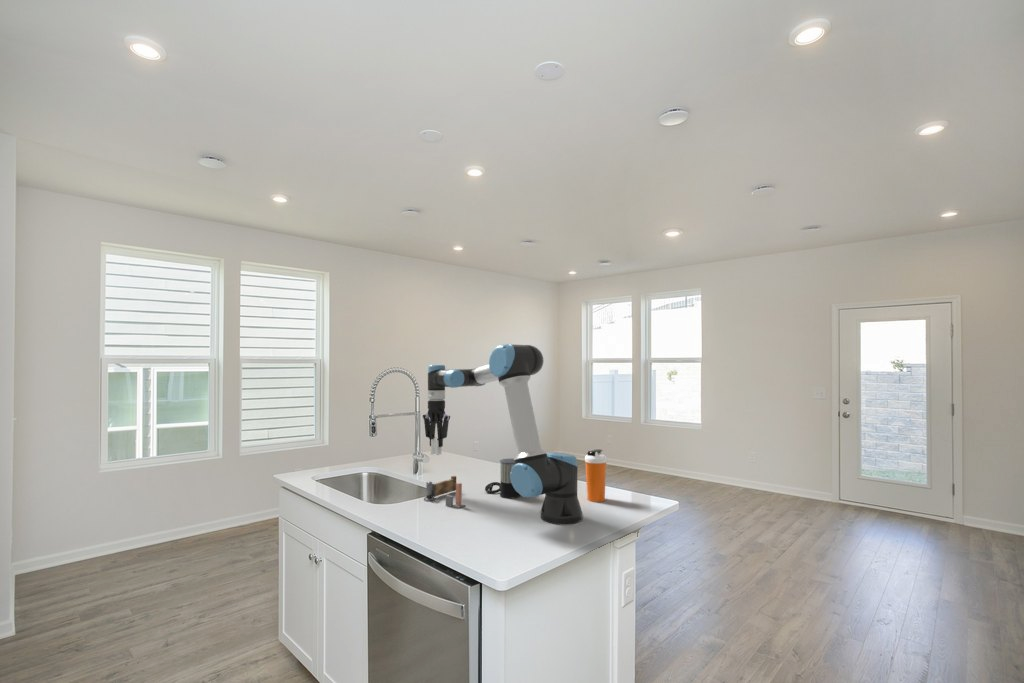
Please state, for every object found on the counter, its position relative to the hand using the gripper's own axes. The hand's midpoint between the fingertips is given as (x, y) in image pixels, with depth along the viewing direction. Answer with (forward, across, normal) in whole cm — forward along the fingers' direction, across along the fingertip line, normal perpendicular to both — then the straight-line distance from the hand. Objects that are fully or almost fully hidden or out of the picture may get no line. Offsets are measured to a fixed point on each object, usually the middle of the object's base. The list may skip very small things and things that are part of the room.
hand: (436, 454), depth 216 cm
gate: (+16, +6, -2) cm, 17 cm away
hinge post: (+16, +4, -11) cm, 20 cm away
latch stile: (+16, +19, -13) cm, 28 cm away
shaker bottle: (+17, +66, +20) cm, 71 cm away
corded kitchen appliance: (+17, +27, +11) cm, 34 cm away
